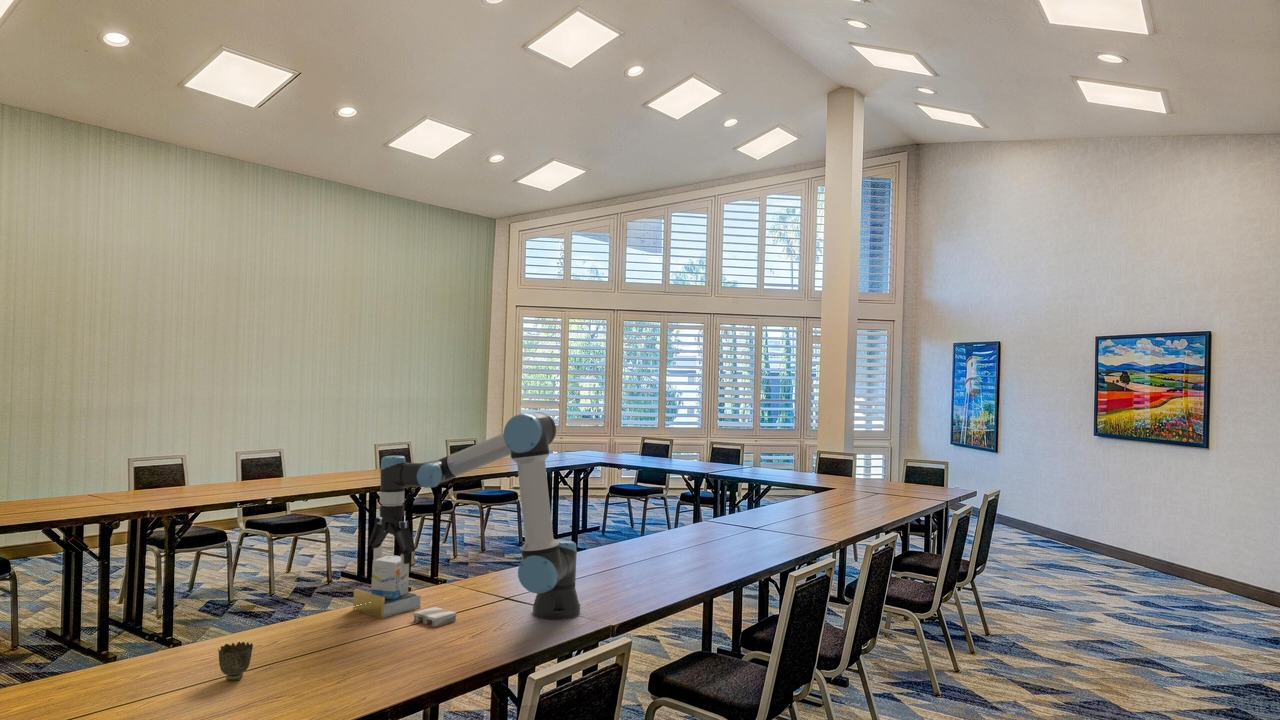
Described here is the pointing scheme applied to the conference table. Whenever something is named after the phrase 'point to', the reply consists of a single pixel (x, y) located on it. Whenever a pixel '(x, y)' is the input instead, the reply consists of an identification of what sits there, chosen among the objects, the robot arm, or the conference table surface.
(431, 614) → the block
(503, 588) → the conference table surface
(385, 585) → the ink box
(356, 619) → the conference table surface
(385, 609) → the dock
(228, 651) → the cup
